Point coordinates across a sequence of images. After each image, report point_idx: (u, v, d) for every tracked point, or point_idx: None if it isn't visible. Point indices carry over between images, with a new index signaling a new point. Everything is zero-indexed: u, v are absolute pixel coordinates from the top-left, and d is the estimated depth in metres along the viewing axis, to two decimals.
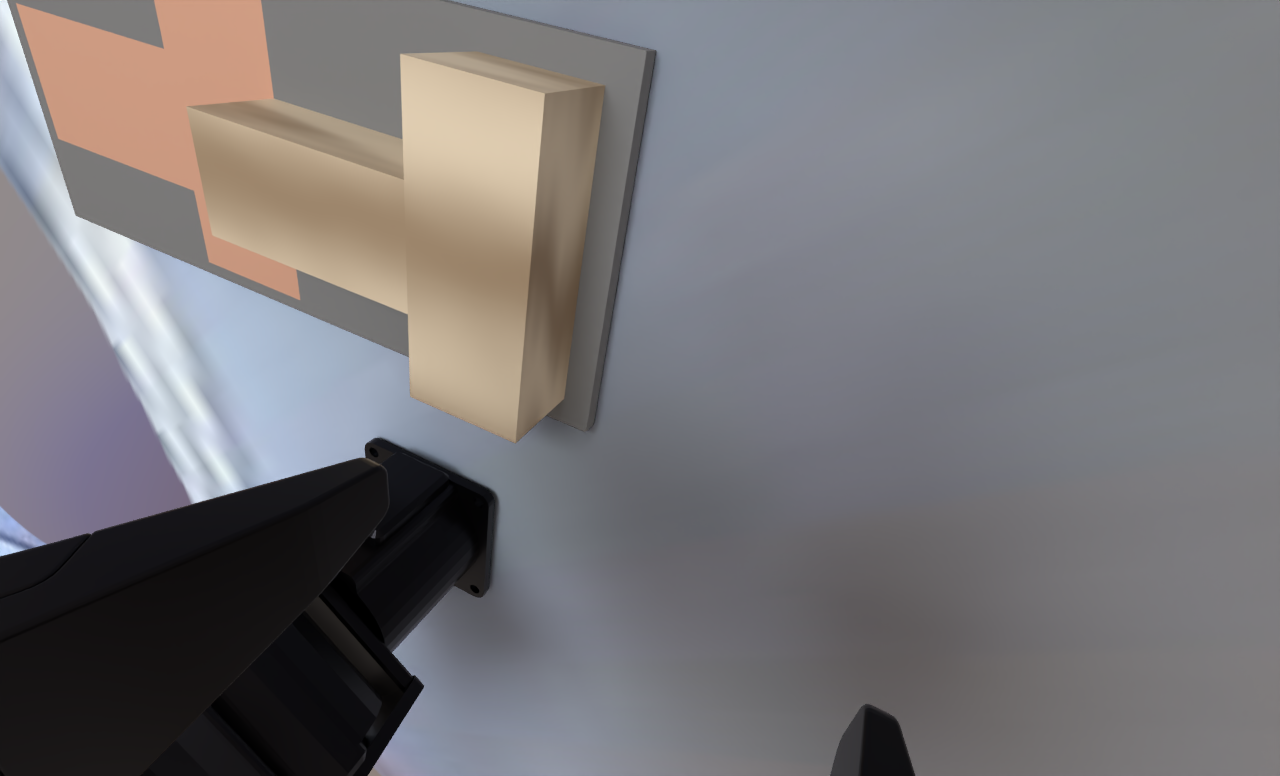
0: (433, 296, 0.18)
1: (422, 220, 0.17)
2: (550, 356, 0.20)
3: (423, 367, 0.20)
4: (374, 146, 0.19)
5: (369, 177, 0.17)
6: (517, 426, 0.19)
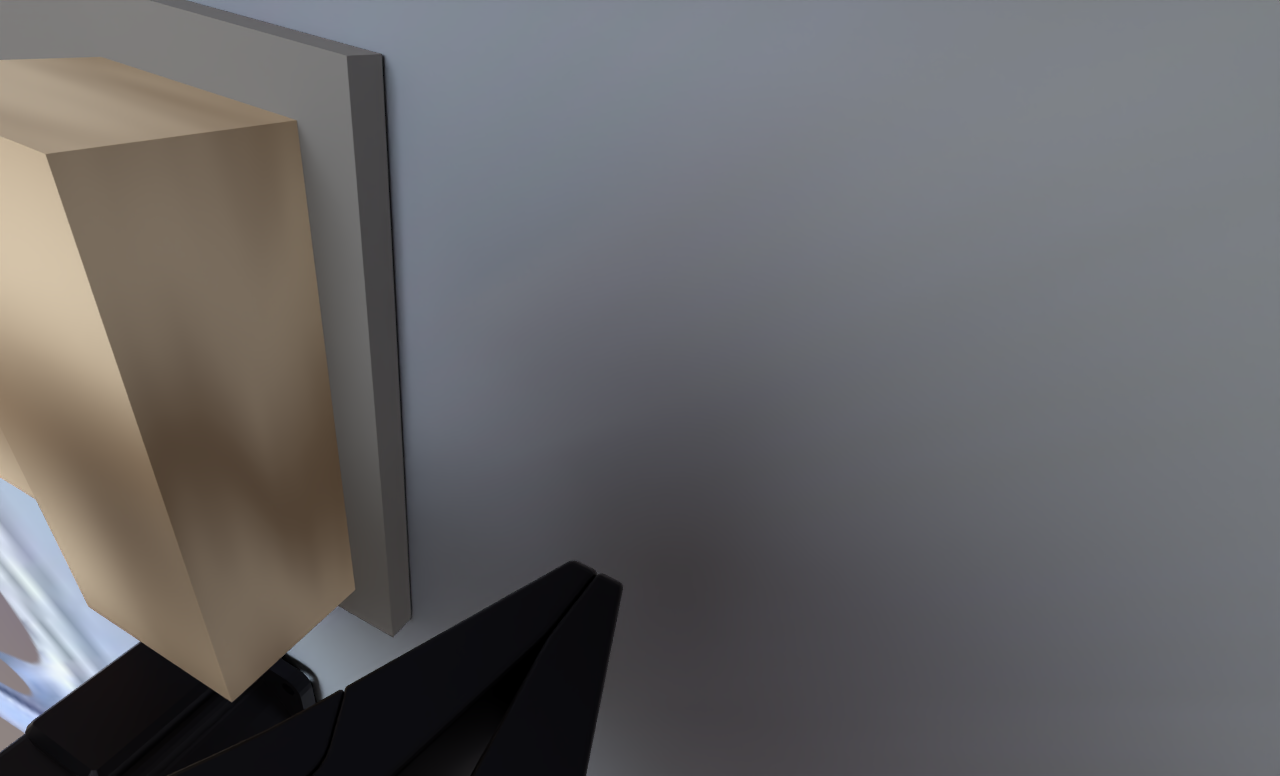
0: (53, 481, 0.11)
1: None
2: (292, 558, 0.12)
3: (85, 574, 0.12)
4: None
5: None
6: (226, 682, 0.12)
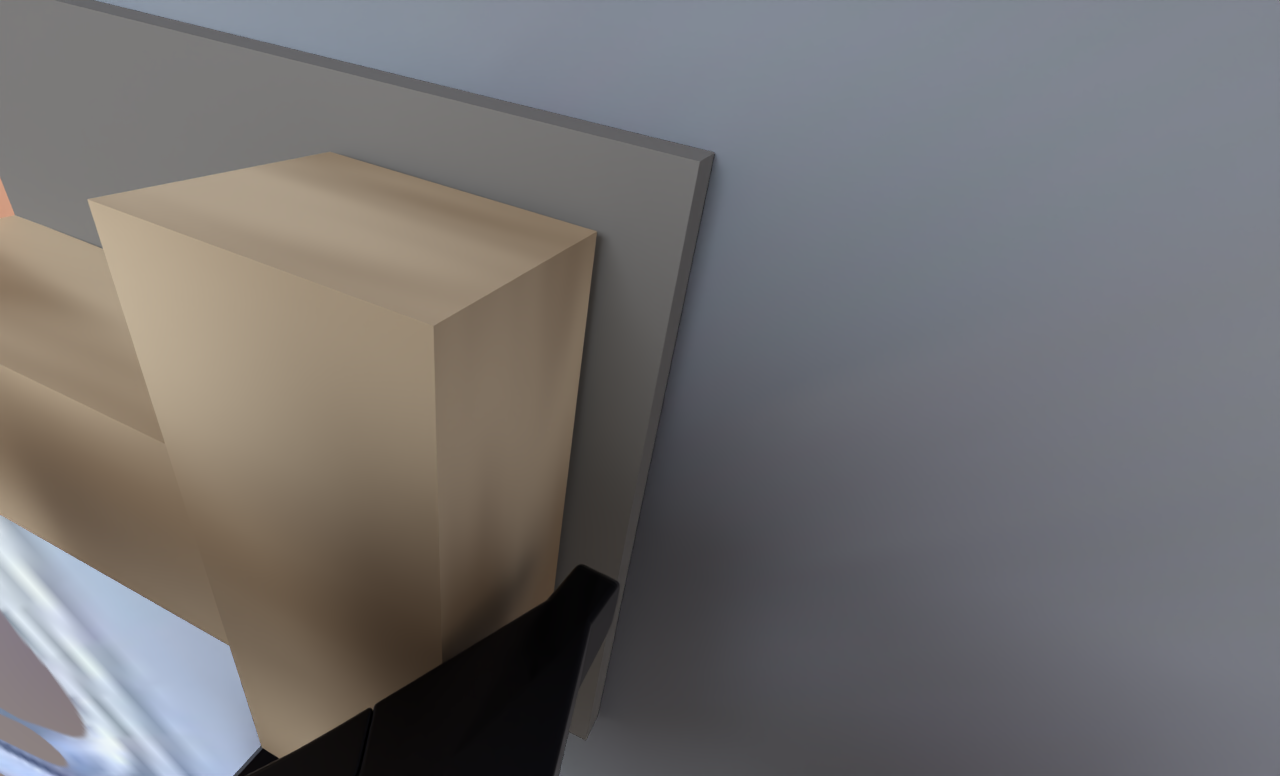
0: (266, 633, 0.09)
1: (217, 518, 0.08)
2: None
3: (274, 720, 0.11)
4: None
5: (105, 427, 0.08)
6: None
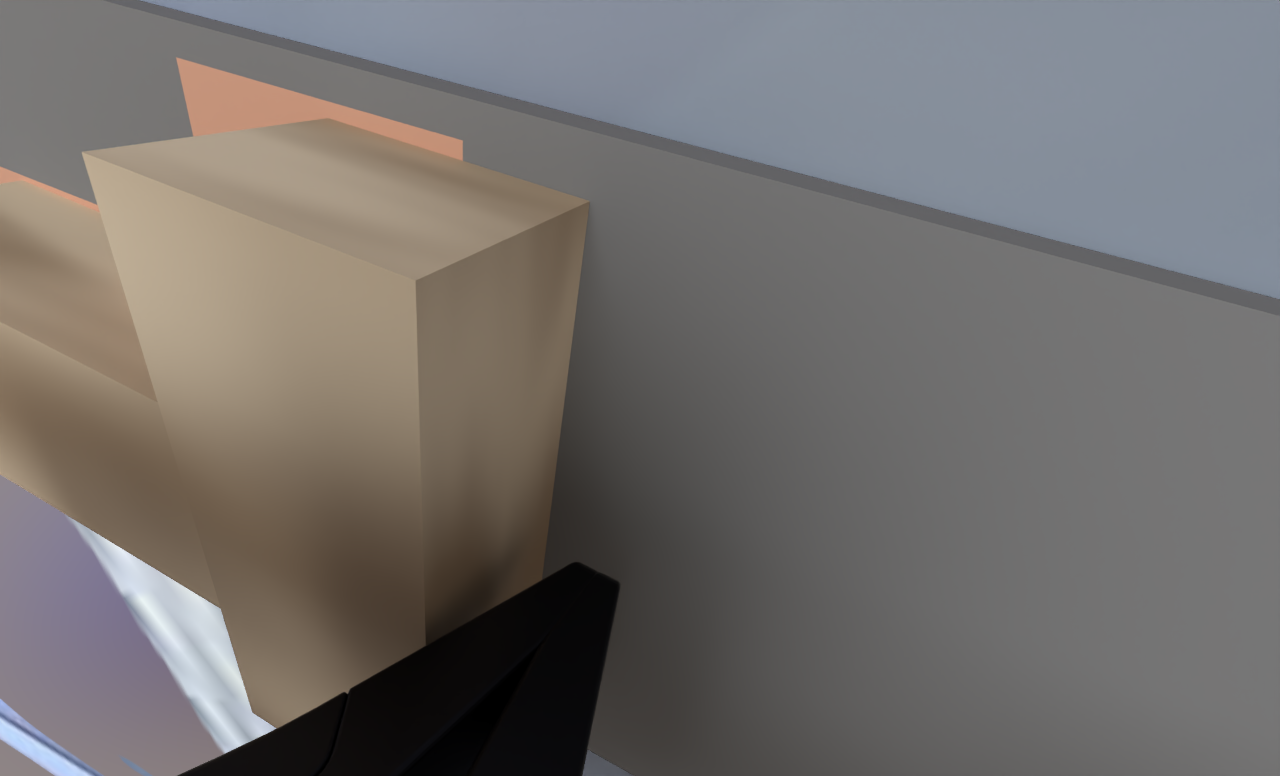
0: (256, 596, 0.09)
1: (208, 478, 0.08)
2: None
3: (263, 685, 0.11)
4: None
5: (100, 385, 0.08)
6: None
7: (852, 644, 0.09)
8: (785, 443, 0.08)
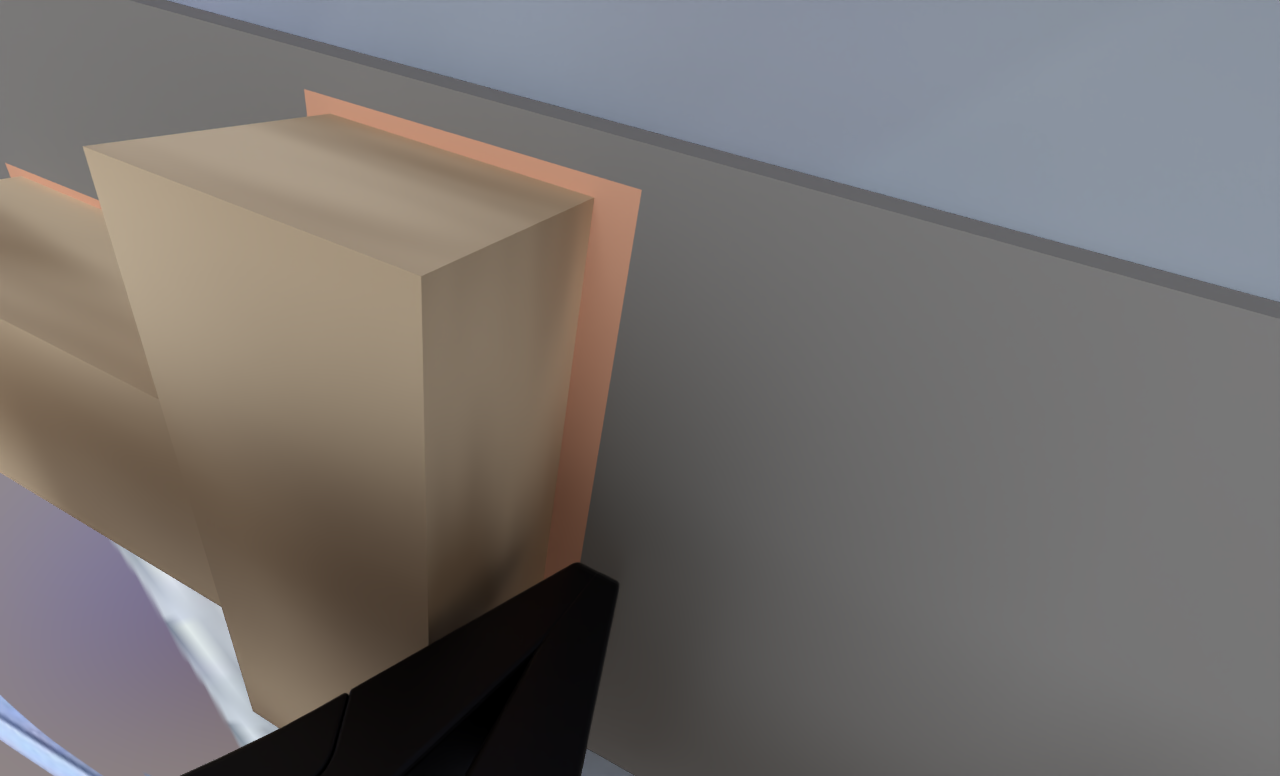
0: (257, 594, 0.09)
1: (210, 475, 0.08)
2: None
3: (264, 683, 0.11)
4: None
5: (101, 382, 0.08)
6: None
7: (1032, 727, 0.08)
8: (988, 521, 0.07)
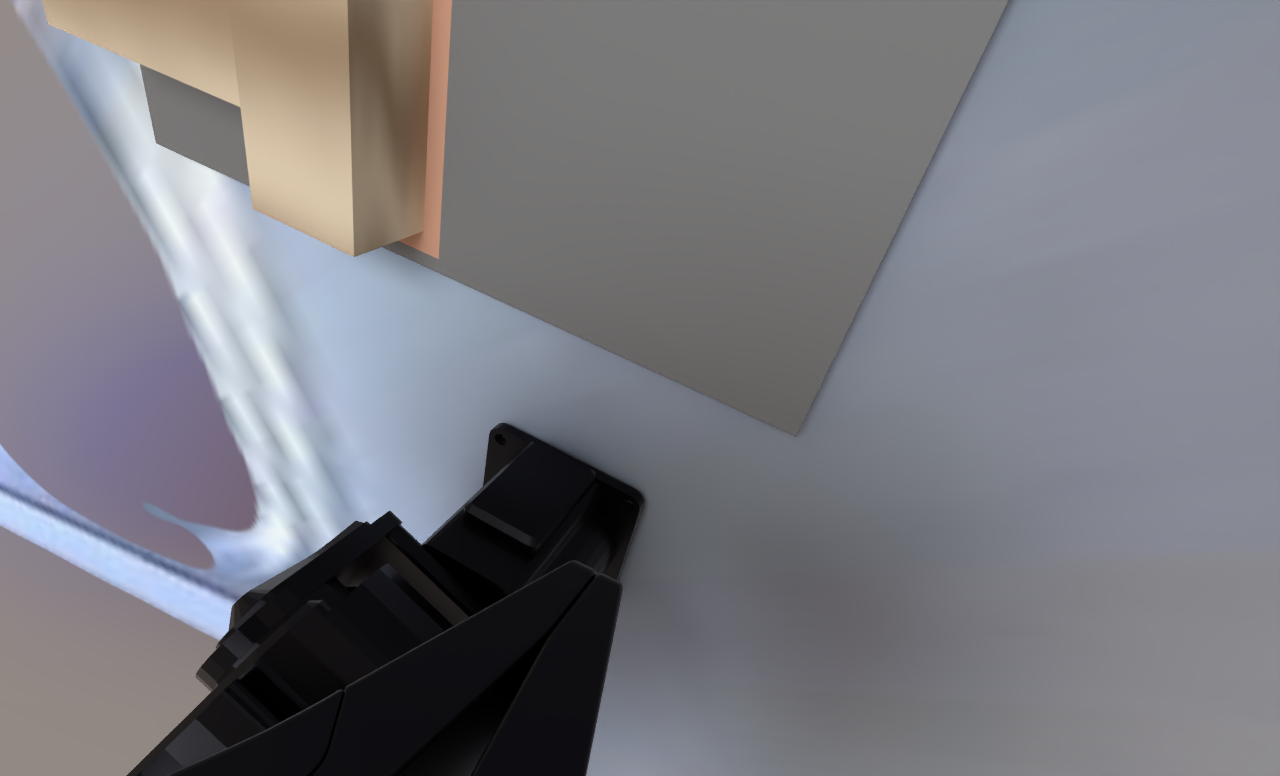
0: (262, 83, 0.17)
1: None
2: (396, 169, 0.19)
3: (261, 171, 0.19)
4: None
5: None
6: (353, 236, 0.18)
7: (655, 155, 0.17)
8: (617, 16, 0.15)
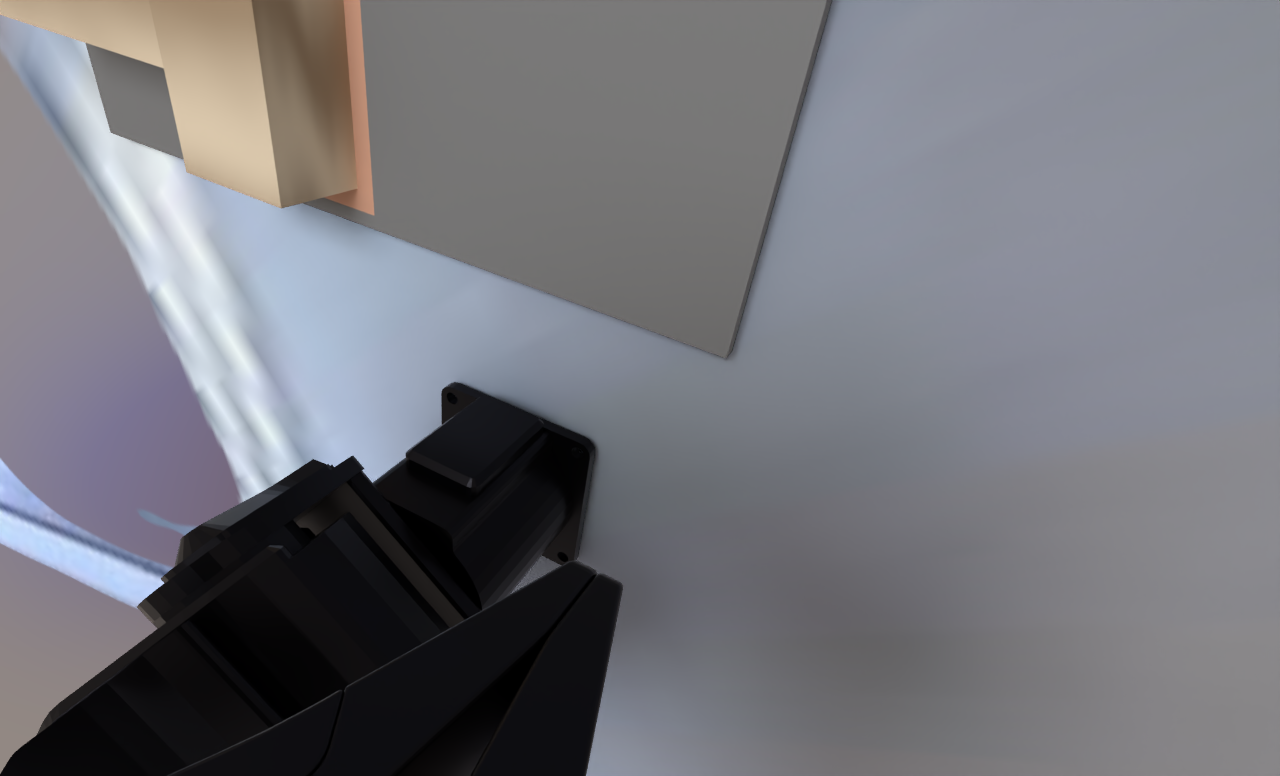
0: (179, 40, 0.18)
1: None
2: (319, 121, 0.19)
3: (189, 132, 0.19)
4: None
5: None
6: (278, 187, 0.19)
7: (558, 79, 0.17)
8: None
